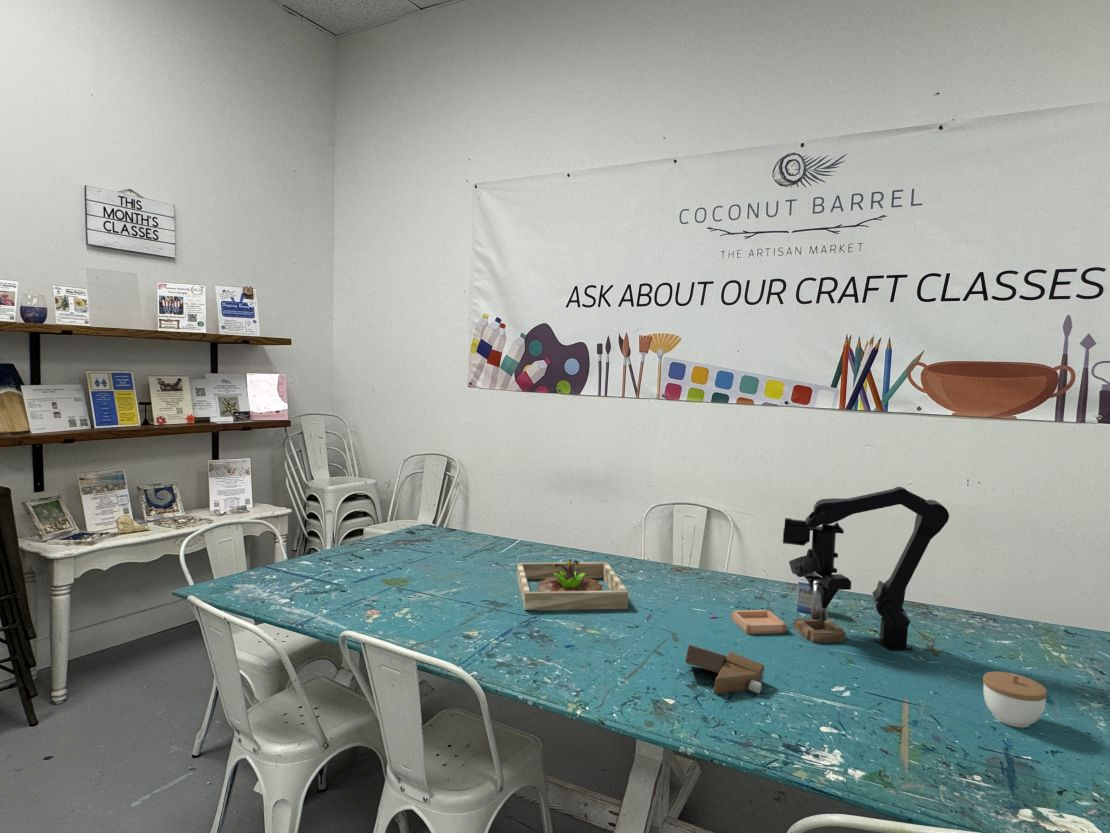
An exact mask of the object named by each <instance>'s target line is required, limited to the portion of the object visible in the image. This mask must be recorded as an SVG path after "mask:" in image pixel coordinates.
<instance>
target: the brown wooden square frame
mask: <svg viewBox="0 0 1110 833" xmlns="http://www.w3.org/2000/svg"><path fill="white" fill-rule="evenodd" d="M793 628H794V629H795V632H797V633H800V634H799V635H800V636H802V637H803V638H804V637H805V638H804V639H806V640H808V641H810V642H811V643H813V642H814V643H838V642H839V643H842V642H846V631H845V630H844V628H842V627H841V626H840V625H838V624H837V623H835V622H834V621H832V620H829V619H827V620H826V621H818V620H814V619H812V618H811V617H810V618H806V617H805V618H794V619H793ZM822 629H823V630H822Z"/></svg>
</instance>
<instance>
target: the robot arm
mask: <svg viewBox="0 0 1110 833" xmlns="http://www.w3.org/2000/svg"><path fill="white" fill-rule="evenodd" d="M898 505H900V506H901V505H902V506H903V507H905V508H907V509H908V510H910V511H912V512H913V513H915V514H916V515H915V520H914V528H913V531H912V534H911V535H910V537H909V539H908V542H907V543H906V545H905V546H904V547H905V548H904V549H903V551H902V554H900V557H899V559H898V561H897V563H896V565H895V566H894V569H893V571H892V573H891V574H890V577H888V579H887V580H886V581H885V582H883V581H881V580H878V582H877V584H876V585H877V586H876V588H875V590H874V591H872V595H873V600H872V601H873V603H874V607H875V609H876V611H877V613H878V614H879V616H880V617H881V621H880V628H879V637H875V638H874V641H875V642H877V643H878V644H880V645H881V646H883V647H884V648H885V649H887V650H890V651H893V650H894V651H896V650H897V651H899V650H900V651H901V650H902V651H903V650H912V649H913V647H912V646H911V645H909V644H908V643H907V642H908V632H909V631H908V630H909V625H910V623H911V620H910V618H909V616H908V615H907V612H906V610H905V609H904V607H903V606H904V601H905V597H906V590H907V587H908V584H909V583H910V582H911V580H912V578H913V575H914V573H915V571H916V569H917V568H918V565H919V563H920V562H921V560H922V557H923V555H924V554H925V551H926V549H927V547H928V546H929V544H930V542H931V540H932V539H933V538H934V537H935V536H936V535H938V534H939V533H940V532H941V530H942V529H943V528H944V527H945V526H946V524H947V523H948V521H949V518H950V514H949V511H948V510H947V508H946V507H945V505H943V504H942V503H940V502H939V501H937V500H934V499H925V498H923V497H921V496H919V495H917V494H915V493H913V492H912V491H909V490H907V489H906V488H905V487H903V486H896V487H894V488H890V489H886V490H882V491H877V492H873V493H872V492H871V493H867V494H863V495H859V496H853V497H849V498H821V499H818V501H816V502H815V503H814V505H813V511H812V512H811V513H810V514H809V515H808V516H807V517H806V518H805V520H802V519H793V518H789V517H786V518H784V527H783V531H782V532H783V533H782V535H783V536H782V544H783V545H793V546H794V545H796V546H803V547H804V546H806V545H807V544H808V543H810V542H811V548H807V551H806V555H804V556H803V555H802V556H799V557H797V558H794V559H791V560H789V561H788V563H789V566H790V567H789V568H790V570H791V573H792V574H793V575H795V576H796V577H797V578H802V577H803V578H804V579H805V580H808V583H809V586H810V590H811V594H812V592H813V580H814V579H822V583H816V584H817V585H818V586H819V587H820V589H821V603H822V608H827V606H828V607H829V605H830V603H831V601H832V600H833V598H834V597H835V596H836V594H837V593H838V592H839V591H842V590H843V591H844V590H852V581H851V580H850V579H849V577H847V576H845V575H843V574H842V573H841V574H837V573H838V569H837V567H835V559H836V558H839V553H838V552H836V537H837V534H840V535H841V534H845V531H844V528H842V526H840V524H839V521H841V520H843V519H845V518H848V517H849V516H852V515H855V514H859V513H865V512H870V511H874V510H879V509H883V508H888V507H893V506H898ZM811 531H812V537H811ZM810 538H812V540H811V539H810ZM810 540H811V541H810Z"/></svg>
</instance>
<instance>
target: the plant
mask: <svg viewBox="0 0 1110 833" xmlns="http://www.w3.org/2000/svg"><path fill="white" fill-rule="evenodd" d="M566 562H567V565H568V566H569V568H568V569H567V568H566V567H565V566H564V565H562V564H554V566H553V567H554V568H557V567H558V565H559V566H561V567H563V568H564V569H565V571H566V572H565V573H564V572H562V571H560V574H561V576H560V575H559V574H557V573H554V575H556V576H555V577H547V578H546V579H542V580H540V581H539V582H538V586H537V592H544V591H602V590H603V589H602V587H603V585H602V584H600V582H599V581H598V580H596V579H594V578H583V576H584V575H585V573H581V574H579V575H578V576H576V572H575V571H574V564H576V566H578V565H579V562H580V561H579V560H573V561H572V559H571V558H570V559H568V560H567V561H566ZM571 562H573V564H572V563H571Z"/></svg>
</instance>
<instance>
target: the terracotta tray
mask: <svg viewBox="0 0 1110 833" xmlns="http://www.w3.org/2000/svg"><path fill="white" fill-rule="evenodd" d="M730 613H731V614H730V619H731V620H732V621H733V623H735V624H736V625H737V626H738V627H739V628H740V629H741V630H742V631H743V632H744V633H745V634H746V635H756V634H757V635H761V634H762V635H763V634H766V635H767V634H787V626H788V625H787V624H786V622H784V621H783V620H782V619H780V618H779V617H778V616H776V614H774V613H773V612H771V610H769V609H757V610H756V609H755V610H753V609H750V610H749V609H747V610H745V609H744V610H731V611H730Z"/></svg>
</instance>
